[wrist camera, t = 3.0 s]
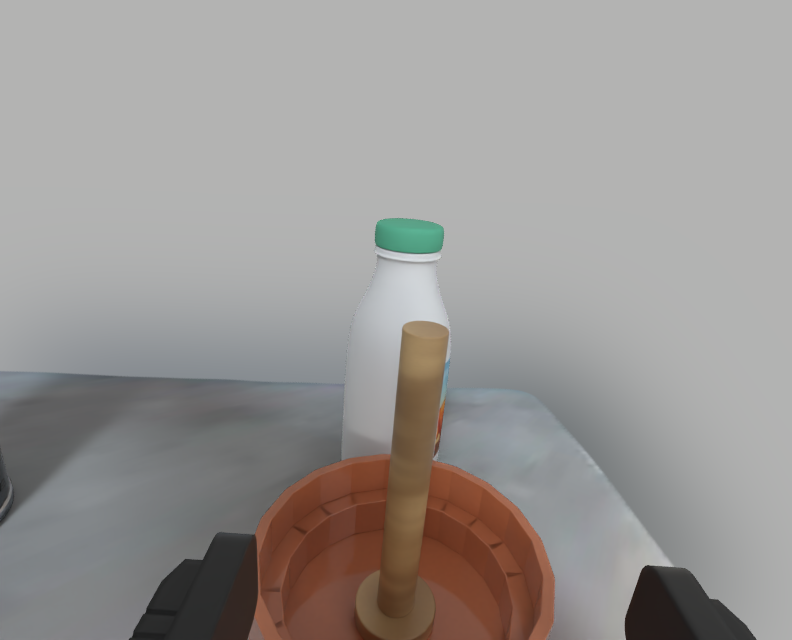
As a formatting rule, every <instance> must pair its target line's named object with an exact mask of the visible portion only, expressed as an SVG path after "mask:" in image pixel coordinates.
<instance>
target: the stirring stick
mask: <svg viewBox="0 0 792 640" xmlns="http://www.w3.org/2000/svg"><path fill="white" fill-rule="evenodd" d="M448 339H449V330H448V329H447V328H446V327H445V326H443V325H441V324H438V323H435V322H430V321H411V322H408V323H406V324H404V325H403V327H402V337H401V348H400V359H399V369H398V380H397V391H396V402H395V413H394V424H393V435H392V445H391V456H390V467H389V478H388V489H387V500H386V511H385V521H384V532H383V543H382V554H381V565H380V570H378V571H376V572H373V573H372V574H370V575H369V576H368V577H367V578H365V580H364V581H363V582H362V583H361V585H360V586H359V588H358V590H357V593H356V598H355V609H354V617H355V623H356V626H357V629H358V631H359V633H360V634H361V636H362V637H363V638H364V640H427V638H428V637H429V635H430V633H431V631H432V628H433V624H434V618H435V611H436V604H435V599H434V595H433V593H432V591H431V589H430V587H429V586H428V584H427V583H426V582H425V581H424V580H423V579H422V578H421V577H420V576H418V569H419V561H420V554H421V546H422V538H423V531H424V523H425V515H426V508H427V500H428V492H429V485H430V477H431V469H432V462H433V454H434V446H435V439H436V431H437V423H438V416H439V408H440V401H441V393H442V385H443V378H444V370H445V362H446V355H447V347H448Z"/></svg>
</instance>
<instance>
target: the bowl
mask: <svg viewBox="0 0 792 640" xmlns="http://www.w3.org/2000/svg"><path fill="white" fill-rule="evenodd" d="M390 456H391V454H378V455H370V456H361V457H353V458H348V459H345V460H342V461H339V462H336V463H334V464H331V465H328V466H325V467H322V468H319V469H316V470H314V471H313V472H311V473H310V474H308V475H307V476H305V477H304V478H302V479H301V480H299V481H298V482H296V483H295V484H293V485H292V486H290V487H289V488H287V489H286V490H285V491H284V492H283V493H282V494H281V495H280V496H279V498H278V499H277V500H276V501H275V502H274V504H273V505H272V506H271V507H270V508H269V509H268V511H267V512H266V513H265V514H264V515H263V516H262V518H261V519H260V522H259V525H258V527H257V530H256V532H255V536H256V539H257V563H258V599H257V606H256V611H255V616H254V620H253V623H252V626H251V630H250V633H249V640H364V638H363V637H362V636H361V634H360V633H359V631H358V629H357V626H356V623H355V617H354V609H355V598H356V593H357V590H358V588H359V586H360V585H361V583H362V582H363V581H364V580H365V578H367V577H368V576H369V575H370V574H372V573H373V572H376V571H378V570H380V565H381V554H382V543H383V532H384V521H385V511H386V500H387V489H388V478H389V467H390ZM418 576H420V577H421V578H422V579H423V580H424V581H425V582H426V583H427V584H428V586H429V587H430V589H431V591H432V593H433V595H434V599H435V604H436V611H435V618H434V624H433V628H432V631H431V633H430V635H429V637H428V638H427V640H549V637H550V634H551V630H552V627H553V622H554V600H555V579H554V578H555V577H554V574H553V571H552V569H551V566H550V563H549V560H548V557H547V554H546V551H545V548H544V545H543V543H542V540H541V538H540V537H539V536H538V534H537V533H536V531H535V530H534V529H533V527H532V526H531V525H530V523H529V522H528V520H527V519H526V518H525V516H524V515H523V514H522V512H521V511H520V510H519V508H518V507H517V506H515V505H514V504H513V503H512V502H511V501H509V500H508V499H507V498H506V497H505V496H503V495H502V494H501V493H500V492H499V491H497V490H496V489H495V488H494V487H492V486H491V485H490V484H489V483H487V482H485V481H483V480H481V479H479V478H477V477H475V476H474V475H472V474H470V473H468V472H466V471H464V470H462V469H460V468H458V467H455V466H452V465H448V464H445V463H441V462H438V461H434V460H433V462H432V469H431V477H430V485H429V492H428V500H427V508H426V515H425V523H424V531H423V538H422V546H421V554H420V561H419V569H418Z"/></svg>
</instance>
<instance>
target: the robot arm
mask: <svg viewBox="0 0 792 640" xmlns="http://www.w3.org/2000/svg"><path fill="white" fill-rule="evenodd" d="M13 499H14V491H13V486H12V483H11V480H10V478H9V477H8V475H7V471H6V468H5V464H4V460H3V456H2V452H1V448H0V521H1V520H2V519H3V518H4V517H5V515H6V514H7V512H8V511H9V509H10V507H11V505H12V503H13ZM257 599H258V563H257V539H256V536H255V535H249V534H235V533H222V532H219V533H217V534H216V535H215V537H214V539H213V540H212V542H211V544H210V546H209V549H208V551H207V553H206V555H205V557H204V559H203V560H191V559H185V560H184V561H183V562H182V563H181V564H180V565H178V566H177V567H176V568H175V569H174V570H173V571H172V572H171V573H170V574H169V575H168V576H167V577H166V578H165V579H164V580H163V581H162V582H161V584H160V585H159V587H158V589H157V591H156V593H155V594H154V596H153V598H152V600H151V601H150V603H149V605H148V607H147V610H146V613H145V614H143V616H142V617H141V619H140V621H139V623H138V625H137V626H136V628H135V630H134V632H133V636H132V638H130V639H129V640H247V639H248V636H249V633H250V630H251V626H252V623H253V620H254V616H255V611H256V606H257ZM625 635H626V640H756V638H755V637H754V636H753V634H752V633H751V632H750V630H749V629H748V628H747V626H746V625H745V624H744V623H743V622H742V621H741V620H739V618H737V617H736V616H735V615H734V614H733V613H732V612H731V611H730V610H729V609H727V607H725V606H724V605H723V604H722V603H721V602H720V601H719V600H714V599H709V597H708V596H707V594H706V593H705V591H704V590H703V589H702V587H701V585H700V584H699V582H698V581H697V580H696V578H695V577H694V576H693V574H692V573H691V572H690V571H688V570H687V569H685V568H676V567H662V566H649V565H647V566H645V567H644V568H643V569H642V571H641V573H640V576H639V579H638V582H637V585H636V588H635V591H634V594H633V597H632V599H631V602H630V605H629V608H628V611H627V614H626V618H625Z"/></svg>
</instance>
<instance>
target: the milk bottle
mask: <svg viewBox="0 0 792 640" xmlns="http://www.w3.org/2000/svg"><path fill="white" fill-rule="evenodd" d="M443 239H444V229H443V227H442V226H440V225H438V224H436V223H433V222H428V221H423V220H415V219H403V218H392V219H383V220H380V221H378V222H377V225H376V231H375V243H376V247H375V250H374V252H375V253H376V254H377V265H376V268H375V272H374V275H373V277H372V280H371V283H370V285H369V287H368V289H367V291H366V293H365V295H364V297H363V298H362V300H361V302H360V304H359V306H358V308H357V310H356V312H355V314H354V317H353V320H352V324H351V327H350V332H349V337H348V346H347V357H346V372H345V389H344V408H343V428H342V450H341V461H342V460H345V459H348V458H353V457H361V456H370V455H378V454H391V445H392V435H393V424H394V413H395V402H396V391H397V380H398V369H399V359H400V348H401V337H402V327H403V325H404V324H406V323H408V322H411V321H430V322H435V323H438V324H441V325H443V326H445V327H446V328H447V329H448V330H449V339H448V347H447V355H446V362H445V370H444V378H443V385H442V393H441V401H440V408H439V416H438V423H437V431H436V439H435V446H434V454H433V460H434V461H437V457H438V450H439V442H440V435H441V428H442V420H443V413H444V405H445V397H446V389H447V381H448V373H449V364H450V351H451V333H450V325H449V320H448V317H447V313H446V310H445V307H444V304H443V301H442V298H441V294H440V291H439V286H438V280H437V271H436V267H437V261H438V260H439V259H440V258H441V249H442V246H443Z"/></svg>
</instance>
